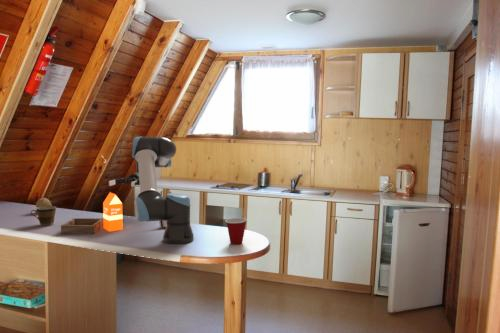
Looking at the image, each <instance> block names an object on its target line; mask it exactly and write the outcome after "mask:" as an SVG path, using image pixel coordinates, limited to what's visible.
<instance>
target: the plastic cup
mask: <svg viewBox="0 0 500 333" xmlns="http://www.w3.org/2000/svg"><path fill="white" fill-rule="evenodd" d="M247 220H248V219H247V218H245V217H244V218H243V217H234V218H228V219H226V220H224V222H225V223H226V227H227V231H228V236H229V237H228V238H229V242H230V244H231V245H237V246H238V245H242V244H243V241H244V237H245V230H246V226H247V225H246V224H247Z"/></svg>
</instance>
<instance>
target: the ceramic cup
mask: <svg viewBox="0 0 500 333" xmlns="http://www.w3.org/2000/svg"><path fill="white" fill-rule="evenodd" d="M35 208H36V209H32V210H31V211H30V215H32V216H33V217H35V218H36V219H38V221H39V225H40V227H51V226H53V225H54V222H55V215H56V213H57V212H56V210H57V206H55V205H52V206H42V207H38V208H37V207H35ZM32 212H35V213H36V214H37V216H36V215H34V214H33V213H32Z"/></svg>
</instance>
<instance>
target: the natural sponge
mask: <svg viewBox="0 0 500 333" xmlns="http://www.w3.org/2000/svg"><path fill="white" fill-rule="evenodd" d="M42 206H53V205H52V203H51V200H49V199H48V198H46V197H41V198H39V199H38V200H37V201H36V203H35V208H38V207H42Z"/></svg>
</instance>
